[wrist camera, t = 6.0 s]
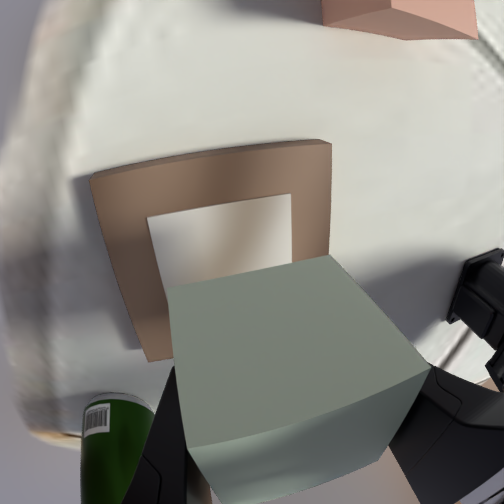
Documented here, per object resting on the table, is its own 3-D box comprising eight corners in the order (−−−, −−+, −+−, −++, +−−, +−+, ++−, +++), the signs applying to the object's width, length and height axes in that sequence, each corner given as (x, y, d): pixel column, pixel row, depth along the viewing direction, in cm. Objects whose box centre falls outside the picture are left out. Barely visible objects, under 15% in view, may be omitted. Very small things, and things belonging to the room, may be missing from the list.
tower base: (319, 139, 14) (333, 144, 13) (314, 310, 19) (323, 323, 18) (94, 172, 12) (88, 180, 11) (147, 347, 17) (148, 363, 16)
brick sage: (320, 361, 12) (377, 460, 8) (198, 392, 11) (226, 510, 7) (329, 254, 10) (431, 366, 6) (166, 287, 9) (187, 448, 5)
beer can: (69, 407, 18) (68, 564, 8) (116, 379, 17) (128, 566, 7) (123, 436, 21) (139, 574, 10) (172, 413, 20) (204, 568, 10)
